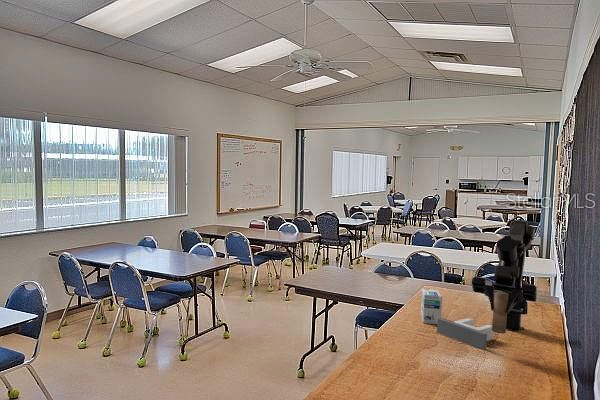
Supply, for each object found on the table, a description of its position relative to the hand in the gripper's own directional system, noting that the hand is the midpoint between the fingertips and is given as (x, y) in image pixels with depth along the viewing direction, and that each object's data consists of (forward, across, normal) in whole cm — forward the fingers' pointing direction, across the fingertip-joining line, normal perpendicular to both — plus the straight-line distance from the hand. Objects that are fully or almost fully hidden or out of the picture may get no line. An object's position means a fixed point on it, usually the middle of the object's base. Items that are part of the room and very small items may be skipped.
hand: (499, 311), depth 142 cm
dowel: (+4, 0, +6) cm, 7 cm away
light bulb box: (-6, -27, +26) cm, 38 cm away
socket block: (+1, -10, +18) cm, 20 cm away
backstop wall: (+6, -12, +14) cm, 19 cm away
